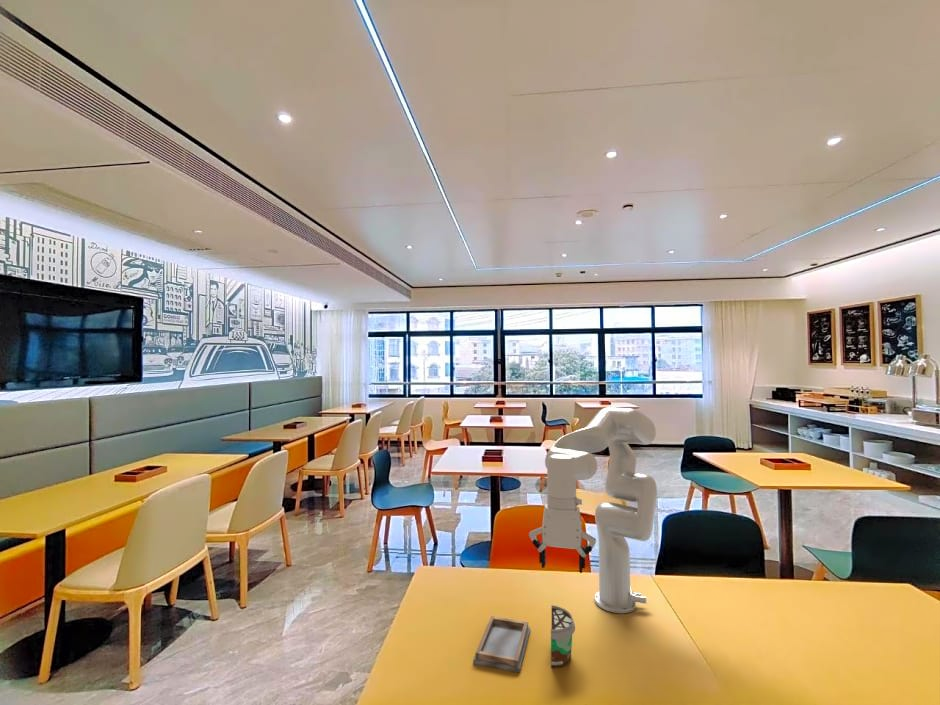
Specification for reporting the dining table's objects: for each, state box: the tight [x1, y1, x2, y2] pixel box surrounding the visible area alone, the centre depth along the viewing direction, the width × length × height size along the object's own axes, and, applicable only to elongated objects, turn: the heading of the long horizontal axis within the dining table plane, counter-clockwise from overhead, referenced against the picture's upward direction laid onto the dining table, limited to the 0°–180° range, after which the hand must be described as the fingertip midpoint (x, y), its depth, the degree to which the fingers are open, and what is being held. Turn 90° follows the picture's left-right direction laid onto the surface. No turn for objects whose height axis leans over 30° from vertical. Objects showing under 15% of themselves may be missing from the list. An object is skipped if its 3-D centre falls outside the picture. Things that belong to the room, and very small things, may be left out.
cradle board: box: [472, 615, 531, 674], centre depth 116 cm, size 12×18×2 cm, turn 164°
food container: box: [550, 605, 576, 669], centre depth 112 cm, size 12×6×10 cm, turn 168°
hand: (562, 568), depth 112 cm, fingers open, 9 cm apart
